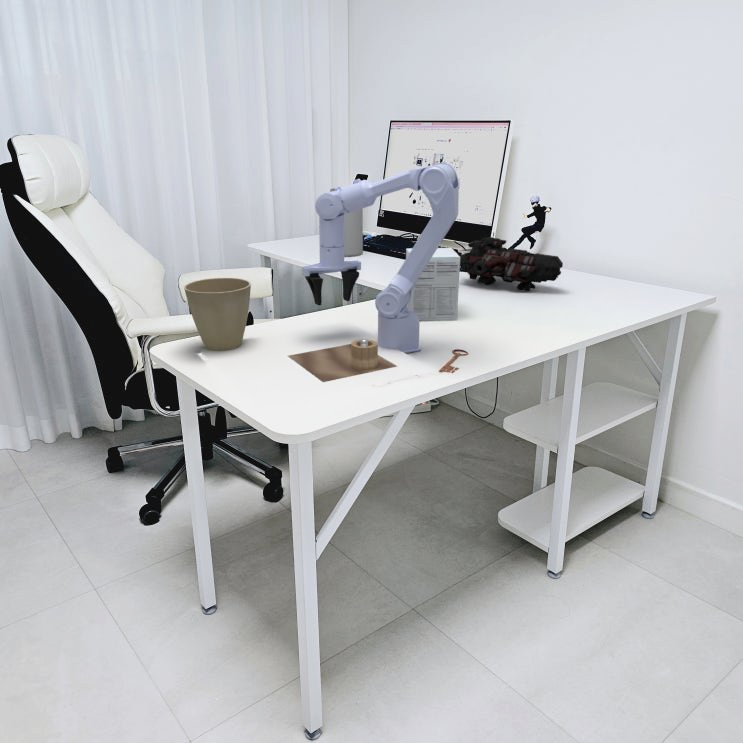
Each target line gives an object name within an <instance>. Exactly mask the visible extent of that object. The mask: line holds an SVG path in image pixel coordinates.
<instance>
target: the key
mask: <svg viewBox="0 0 743 743" xmlns="http://www.w3.org/2000/svg"><path fill="white" fill-rule="evenodd" d="M452 354H453V355H454V356H452V358H450V360H449V361H448V362H446V364H445V365H443V366H442V367H441V368H440V369H439V371H438V373H448V374H454V373H455V372H456V371H458V370H460V367H457V366H456V367H455V366H452V365H451V364H453V363H454V362H455V361H456V360H457V359H458V358H459V357H460V356H461V357H463V356H468V355H469V352H468V351H466V350H464V349H460V348H458V349H453V350H452Z"/></svg>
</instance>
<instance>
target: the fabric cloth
mask: <svg viewBox="0 0 743 743" xmlns="http://www.w3.org/2000/svg"><path fill="white" fill-rule="evenodd" d="M287 357H288V358H290V359H291V360H292V361H293V362H295V363H296V364H298V365H299V366H301V367H302V368H303V369H304V370H306V371H307V372H308V373H310V374H311V375H313V376H314V377H315V378H317V379H318V380H319V381H320V382H322V383H325V382H331V381H336V380H339V379H340V380H341V379H344V378H345V379H346V378H350V377H353V376H358V375H359V376H360V375H365V374H368V373H373V372H377V371H383V370H386V369H392V368H396V367H398V365H397V364H396V363H393V362H391V361H390V360H387V359H386V358H384V357H383V356H381V355H379V354H378V366H377V367H376V368H374V369H371V370H358V369H354V368H353V367H352V365H351V343H349V344H343V345H338V346H334V347H327V348H321V349H316V350H311V351H306V352H300V353H295V354H290V355H287Z"/></svg>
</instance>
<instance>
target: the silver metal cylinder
mask: <svg viewBox="0 0 743 743" xmlns="http://www.w3.org/2000/svg"><path fill="white" fill-rule="evenodd" d="M360 340H361V346H368V341H367V340H366V339H365V338H362V339H360Z"/></svg>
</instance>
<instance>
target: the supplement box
mask: <svg viewBox="0 0 743 743" xmlns="http://www.w3.org/2000/svg"><path fill="white" fill-rule="evenodd" d="M412 248H413V247H411V248H405V259H406V258H407V257H408V255H409V253H410V252H411V250H412ZM460 257H461V255H459V254H458V253H457V252H456V251H455V250H454V249H453V248H452V247H438V248H437V250H436V251H435V253H434V254H433V256H432V258H431V259H430V261H429V262H428V264H427V265H426V267H425V269H424V270H423V272H422V273H421V275H420V276H419V278H418V280H417V281H416V284H415V286H414V288H413V289H412V293H411V299H410V302H409V303H408V304H407V308H408V311H413V312H415V313H416V315H417V316H418V319H419V322H423V321H424V322H425V321H427V322H428V321H429V322H430V321H431V322H433V321H438V322H439V321H440V322H441V321H458V305H459V291H460V290H459V288H460V285H459V284H460V270H461V267H460Z"/></svg>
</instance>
